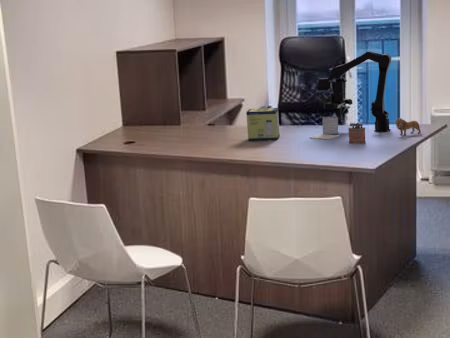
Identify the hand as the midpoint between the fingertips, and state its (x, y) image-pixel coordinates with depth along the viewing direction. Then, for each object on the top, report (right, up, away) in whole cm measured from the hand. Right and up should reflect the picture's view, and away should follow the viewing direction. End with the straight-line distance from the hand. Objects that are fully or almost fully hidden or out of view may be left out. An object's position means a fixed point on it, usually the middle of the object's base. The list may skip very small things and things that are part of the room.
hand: (338, 120), depth 380 cm
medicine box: (-5, -8, -5) cm, 11 cm away
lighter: (+4, -14, -34) cm, 36 cm away
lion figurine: (+31, -9, -22) cm, 39 cm away
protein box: (-40, -10, -4) cm, 41 cm away
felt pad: (-9, -10, -12) cm, 18 cm away
